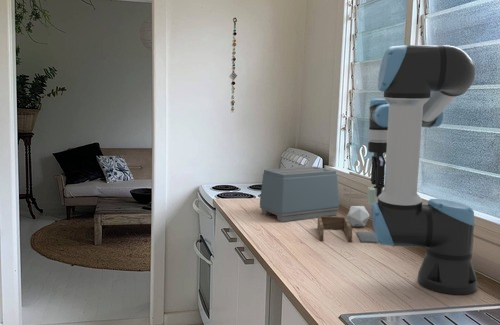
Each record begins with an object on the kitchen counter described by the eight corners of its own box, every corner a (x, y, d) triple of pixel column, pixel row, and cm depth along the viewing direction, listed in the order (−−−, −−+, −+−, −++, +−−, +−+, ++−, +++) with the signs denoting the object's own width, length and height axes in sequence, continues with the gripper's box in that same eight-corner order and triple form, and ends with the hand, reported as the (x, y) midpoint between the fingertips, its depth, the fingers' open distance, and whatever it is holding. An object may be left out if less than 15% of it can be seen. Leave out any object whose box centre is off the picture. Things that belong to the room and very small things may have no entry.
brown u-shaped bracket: (351, 242, 169) (352, 228, 168) (320, 241, 170) (320, 227, 169) (346, 229, 187) (346, 216, 186) (317, 228, 188) (317, 216, 187)
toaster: (346, 215, 212) (347, 170, 209) (281, 223, 196) (281, 175, 193) (320, 206, 228) (321, 165, 226) (259, 213, 212) (259, 169, 210)
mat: (394, 243, 168) (395, 241, 168) (361, 242, 169) (361, 240, 169) (388, 234, 180) (388, 232, 179) (356, 233, 181) (356, 231, 181)
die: (364, 231, 186) (376, 210, 188) (344, 219, 187) (356, 198, 189) (359, 233, 194) (370, 213, 197) (340, 222, 195) (351, 202, 198)
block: (386, 206, 170) (387, 190, 169) (369, 206, 170) (370, 189, 169) (383, 202, 175) (383, 187, 175) (366, 202, 176) (367, 186, 175)
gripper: (395, 143, 160) (392, 209, 163) (384, 139, 179) (381, 198, 182) (372, 143, 161) (370, 209, 164) (364, 139, 179) (362, 198, 182)
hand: (376, 203), depth 173 cm, fingers closed on block, 6 cm apart
